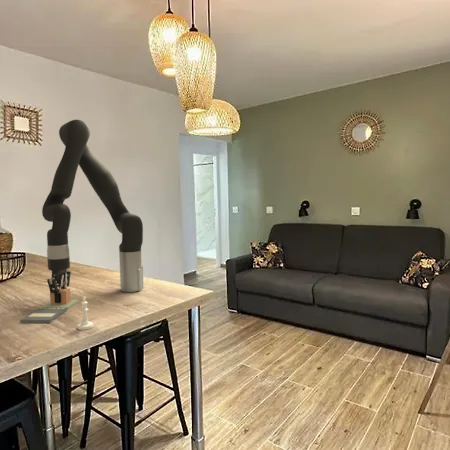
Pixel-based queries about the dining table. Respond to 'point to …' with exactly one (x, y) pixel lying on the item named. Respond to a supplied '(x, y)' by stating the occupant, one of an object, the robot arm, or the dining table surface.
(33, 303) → the dining table surface
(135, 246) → the robot arm
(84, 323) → the chess piece
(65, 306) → the green plate orange block
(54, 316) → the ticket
